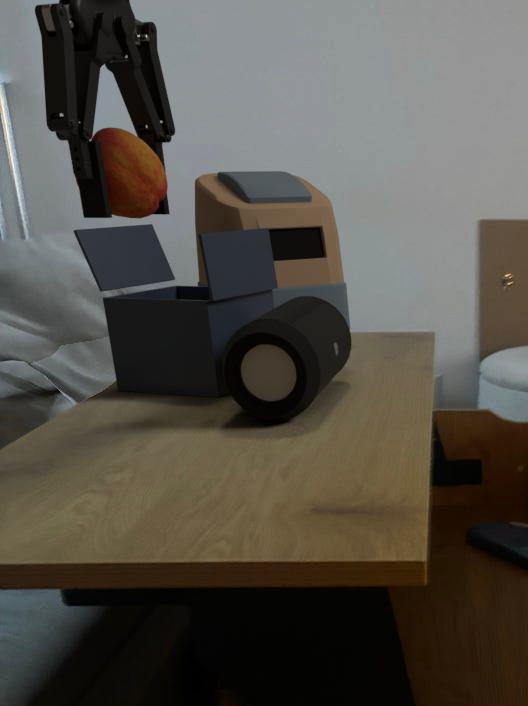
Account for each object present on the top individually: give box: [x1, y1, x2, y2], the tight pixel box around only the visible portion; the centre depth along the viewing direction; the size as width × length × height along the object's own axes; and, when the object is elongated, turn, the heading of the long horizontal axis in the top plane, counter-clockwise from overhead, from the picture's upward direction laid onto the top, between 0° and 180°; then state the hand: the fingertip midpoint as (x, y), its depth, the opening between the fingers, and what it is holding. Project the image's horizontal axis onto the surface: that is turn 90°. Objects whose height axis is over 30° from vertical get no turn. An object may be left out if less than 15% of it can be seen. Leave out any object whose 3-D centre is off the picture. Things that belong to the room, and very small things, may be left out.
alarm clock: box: [194, 170, 351, 331], centre depth 132 cm, size 17×17×23 cm
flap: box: [73, 223, 176, 293], centre depth 116 cm, size 7×14×1 cm
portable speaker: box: [222, 296, 352, 422], centre depth 107 cm, size 26×10×10 cm, turn 178°
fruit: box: [75, 126, 168, 219], centre depth 96 cm, size 8×8×8 cm
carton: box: [102, 228, 278, 398], centre depth 116 cm, size 15×14×17 cm
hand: (128, 215), depth 97 cm, fingers closed on fruit, 8 cm apart
